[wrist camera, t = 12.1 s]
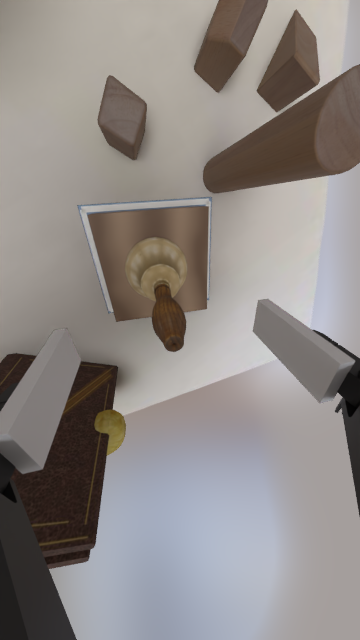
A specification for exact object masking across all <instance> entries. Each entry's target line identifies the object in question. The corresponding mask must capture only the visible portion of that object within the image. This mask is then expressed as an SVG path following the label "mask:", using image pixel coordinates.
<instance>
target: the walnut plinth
mask: <svg viewBox="0 0 360 640" xmlns="http://www.w3.org/2000/svg"><path fill="white" fill-rule="evenodd" d="M87 216H88V220H89V224H90V227H91V231H92V235H93V238H94V242H95V246H96V249H97V253H98V256H99V260H100V264H101V267H102V271H103V275H104V278H105V282H106V286H107V289H108V293H109V297H110V300H111V304H112V308H113V311H114V315H115V319H116V322H118V321H125V320H132V319H139V318H146V317H152V311H153V307H154V305H155V303H156V301H153V300H151V299H149V298H147V297H144V296H142V295H140V294H139V293H137V292H136V291H135V290H134V289H133V288H132V287H131V285H130V284H129V282H128V280H127V278H126V273H125V262H126V258H127V256H128V254H129V252H130V250H131V249H132V248H133V247H134V246H135V245H136V244H137V243H139V242H140V241H142V240H144V239H147V238H152V237H160V238H165V239H168V240H170V241H172V242H173V243H175V244H176V245H177V246H178V247H179V248H180V249H181V250H182V252H183V253H184V255H185V258H186V261H187V268H188V269H187V276H186V279H185V282H184V284H183V285H182V287H181V288H180V289H179V290H178V292H177V294H176V295H175V296H174V297H173V299H174V300H175V301H177V303H178V304H179V305H180V307H181V308H182V310H183V312H189V311H196V310H203V309H207V273H208V224H209V206H193V207H179V208H164V209H149V210H135V211H120V212H106V213H94V214H89V215H87Z"/></svg>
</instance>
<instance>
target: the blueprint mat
mask: <svg viewBox="0 0 360 640" xmlns="http://www.w3.org/2000/svg"><path fill="white" fill-rule="evenodd" d="M211 204H212V197H203V198H187V199H171V200H155V201H139V202H124V203H108V204H92V205H77V206H78V209H79V213H80V216H81V220H82V223H83V227H84V230H85V234H86V237H87V240H88V244H89V247H90V251H91V254H92V258H93V261H94V265H95V268H96V271H97V275H98V278H99V282H100V285H101V289H102V292H103V296H104V299H105V302H106V306H107V309H108V313H114V311H113V308H112V304H111V300H110V297H109V293H108V289H107V286H106V282H105V278H104V275H103V271H102V267H101V264H100V260H99V256H98V253H97V249H96V246H95V242H94V238H93V235H92V231H91V227H90V224H89V220H88V216H87V215H89V214H94V213H106V212H120V211H135V210H149V209H164V208H179V207H193V206H209V224H208V273H207V300H209V280H210V242H211Z"/></svg>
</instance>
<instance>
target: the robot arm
mask: <svg viewBox="0 0 360 640" xmlns="http://www.w3.org/2000/svg"><path fill="white" fill-rule="evenodd" d="M253 332H254V333H255V334H256V335H257V336H258V337H259V339H260V340H261V341H262V342H263V343H264V344H265V345H266V346H267V347H268V348H269V349H270V350H271V351H272V353H273V354H274V355H275V356H276V357H277V358H278V359H279V360H280V361H281V362H282V363H283V364H284V365H285V366H286V368H287V369H288V370H289V371H290V372H291V373H292V374H293V375H294V376H295V377H296V378H297V379H298V380H299V382H300V383H301V384H302V385H303V386H304V387H305V388H306V389H307V390H308V391H309V392H310V393H311V394H312V396H314V398H315V399H316V400H317V401H318V402H319V403H323V402H327V401H332V400H333V399H334V397H335V396H336V394H337V392H338V393H339V394H340V395H341V396H342V397H343V398H342V399H341V401H340V403H339V404H338V406H337V407H336V410H335V412H337V413H338V411H339V410H340V409H341V408H342V414H343V419H344V425H345V431H346V437H347V443H348V449H349V455H350V461H351V467H352V473H353V479H354V485H355V491H356V497H357V503H358V509H359V515H360V358H358V357H357V356H355V355H354V354H352V353H351V352H349V351H348V350H346V349H345V348H343V347H342V346H340V345H338V343H336V342H334V341H332V339H330V338H328V337H327V336H326V335H324V334H323V333H320V332H318V331H315V330H311V329H310V328H308V327H307V326H306V325H304V324H303V323H301V322H300V321H298V320H297V319H296V318H294V317H293V316H291V315H290V314H289V313H287V312H286V311H284V310H283V309H281V308H280V307H279V306H277V305H276V304H274V303H273V302H272V301H270V300H269V299H263V300H258V304H257V310H256V316H255V321H254V327H253ZM80 362H81V359H80V356H79V354H78V352H77V350H76V347H75V345H74V343H73V341H72V338H71V336H70V334H69V332H68V329H67V328H65V329H58V330H54V331H53V332H52V334H51V335H50V337H49V338H48V340H47V342H46V343H45V345H44V346H43V348H42V349H41V351H40V352H39V354H38V355H37V357H36V358H35V360H34V361H33V363H32V364H31V366H30V367H29V369H28V370H27V372H26V373H25V375H24V376H23V378H22V379H21V381H20V382H19V383H13V384H12V385H10V386H9V387H8V388H7V389H6V390H5V391H4V392H2V394H1V395H0V640H77V639H76V637H75V634H74V632H73V629H72V627H71V624H70V622H69V619H68V617H67V614H66V612H65V609H64V607H63V604H62V602H61V599H60V597H59V594H58V591H57V589H56V586H55V584H54V581H53V579H52V576H51V574H50V571H49V569H48V566H47V564H46V561H45V559H44V556H43V553H42V551H41V548H40V546H39V543H38V541H37V538H36V536H35V533H34V531H33V528H32V526H31V523H30V521H29V518H28V516H27V513H26V511H25V508H24V505H23V503H22V500H21V498H20V495H19V493H18V490H17V488H16V485H15V483H14V481H13V480H12V479H11V476H12V474H13V472H14V470H15V468H16V469H17V470H18V471H20V472H21V473H22V474H25V473H29V472H34V471H38V470H42V469H43V467H44V464H45V461H46V459H47V456H48V453H49V450H50V447H51V444H52V442H53V439H54V436H55V433H56V430H57V427H58V425H59V422H60V419H61V416H62V413H63V410H64V408H65V405H66V402H67V399H68V396H69V394H70V391H71V388H72V385H73V382H74V379H75V377H76V374H77V371H78V368H79V365H80Z"/></svg>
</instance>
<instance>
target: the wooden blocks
mask: <svg viewBox="0 0 360 640" xmlns="http://www.w3.org/2000/svg"><path fill="white" fill-rule="evenodd" d="M267 3H268V0H219V1H218V4H217V6H216V9H215V12H214V14H213V17H212V19H211V22H210V24H209V27H208V30H207V32H206V35H205V38H204V41H203V43H202V46H201V49H200V52H199V54H198V57H197V60H196V63H195V66H194V70H195V72H196V73H197V74H198V75H199V76H200V77H201V78H202V79H203V80H204V81H205V82H207V83H208V84H209V85H210V86H211V87H212V88H213V89H214V90H215V91H216V92H218V93H219V92H220V91H221V89H222V88H223V87H224V85H225V84H226V82H227V81H228V79H229V78H230V77H231V75H232V74H233V72H234V71H235V70H236V68H237V67H238V65H239V64H240V63H241V61H242V60H243V58H244V57H245V56H246V53H247V51H248V49H249V46H250V44H251V42H252V39H253V37H254V35H255V33H256V30H257V28H258V26H259V23H260V21H261V19H262V16H263V14H264V12H265V9H266V7H267ZM319 81H320V76H319V65H318V54H317V43H316V36H315V35H314V34H313V32H312V31H311V29H310V28H309V26H308V25H307V24H306V22H305V21H304V19H303V18H302V17H301V15H300V14H299V12H298V11H297V9H296V10H295V11H294V14H293V16H292V18H291V20H290V22H289V24H288V26H287V28H286V30H285V32H284V35H283V37H282V39H281V41H280V43H279V45H278V47H277V49H276V51H275V53H274V56H273V58H272V60H271V62H270V64H269V66H268V68H267V70H266V72H265V74H264V77H263V79H262V81H261V83H260V85H259V87H258V89H257V92H258V93H259V95H260V96H261V97H262V98H263V99H264V100H265V101H266V102H267V103H268V104H269V105H270V106H271V107H272V108H273V109H274V110H275V111H276V112H278V111H279V110H281V109H282V108H284V107H285V106H287V105H288V104H290V103H291V102H293V101H294V100H296V99H297V98H299V97H300V96H302V95H303V94H305V93H306V92H308V91H309V90H311V89H312V88H314V87H315V86H316V85H318V83H319ZM146 111H147V104H146V103H145V101H144V100H142V99H141V98H140V97H139V96H137V95H136V94H135V93H133V92H132V91H131V90H130V89H128V88H127V87H126V86H125V85H123V84H122V83H121V82H119V81H118V80H117V79H116V78H114V77H113V76H110V75H109V76H108V78H107V81H106V85H105V89H104V93H103V98H102V102H101V106H100V111H99V115H98V125H99V127H100V129H101V131H102V133H103V135H104V137H105V139H106V141H107V142H108V144H109V145H111V146H112V147H114V148H115V149H117V150H118V151H120V152H121V153H123V154H125V155H126V156H128V157H129V158H131V159H132V160H135V159H136V157H137V154H138V151H139V148H140V145H141V142H142V138H143V135H144V132H145V123H146ZM358 163H360V64H359V65H357V66H354V67H352V68H351V69H349V70H348V71H346V72H345V73H343V74H341V75H340V76H338V77H337V78H335V79H334V80H332V81H331V82H329V83H328V84H326V85H324V86H323V87H321V88H320V89H318V90H317V91H315V92H314V93H312V94H311V95H309V96H307V97H306V98H304V99H303V100H301V101H300V102H298V103H297V104H295V105H294V106H292V107H290V108H289V109H287V110H286V111H284V112H283V113H281V114H280V115H278V116H277V117H275V118H273V119H272V120H270V121H269V122H267V123H266V124H264V125H263V126H261V127H260V128H258V129H256V130H255V131H253V132H252V133H250V134H249V135H247V136H246V137H244V138H243V139H241V140H239V141H238V142H236V143H235V144H233V145H232V146H230V147H229V148H227V149H226V150H224V151H222V152H221V153H219V154H218V155H216V156H215V157H213V158H212V159H210V160H209V161H208V163H207V164H206V166H205V168H204V172H203V180H204V184H205V186H206V188H207V189H208V190H209V191H210V192H212V193H221V192H228V191H234V190H240V189H247V188H253V187H259V186H266V185H272V184H278V183H285V182H291V181H297V180H304V179H310V178H316V177H322V176H329V175H335V174H340V173H343V172H346V171H348V170H350V169H352V168H353V167H354V166H356V165H357V164H358Z"/></svg>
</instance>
